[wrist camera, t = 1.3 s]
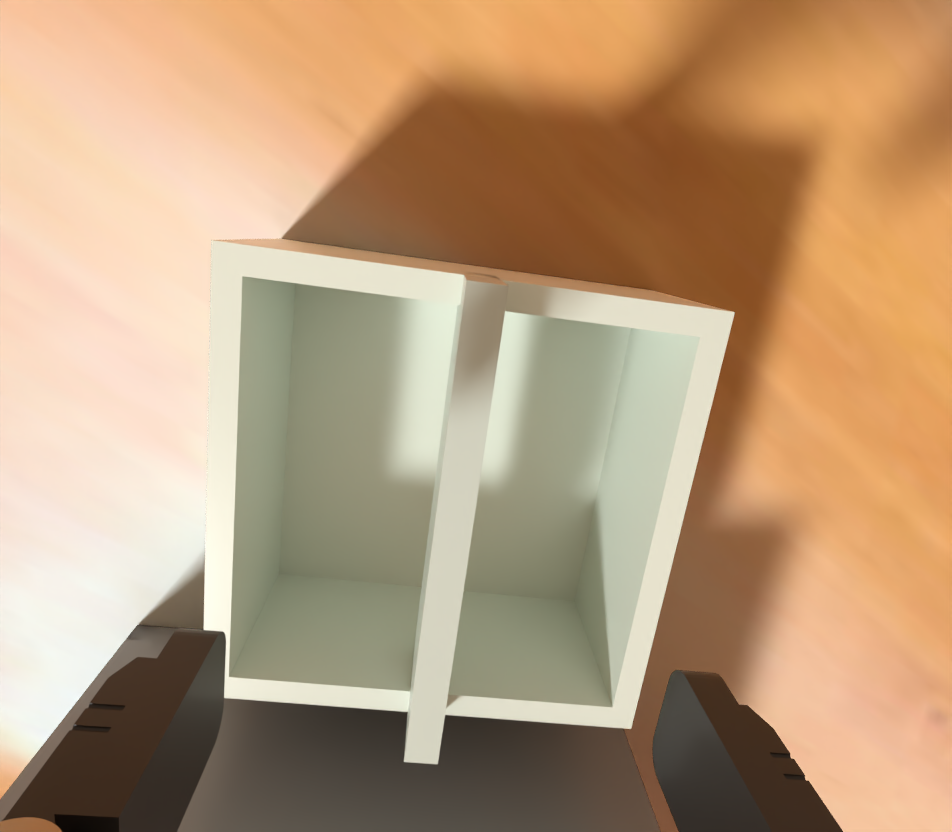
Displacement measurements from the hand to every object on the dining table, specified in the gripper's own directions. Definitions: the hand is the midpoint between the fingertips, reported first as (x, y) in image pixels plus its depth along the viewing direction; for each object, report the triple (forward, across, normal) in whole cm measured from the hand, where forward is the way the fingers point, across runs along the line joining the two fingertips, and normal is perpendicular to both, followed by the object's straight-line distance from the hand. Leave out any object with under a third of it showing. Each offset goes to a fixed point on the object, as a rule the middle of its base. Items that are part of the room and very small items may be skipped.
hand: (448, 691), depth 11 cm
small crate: (+14, 0, 0) cm, 15 cm away
